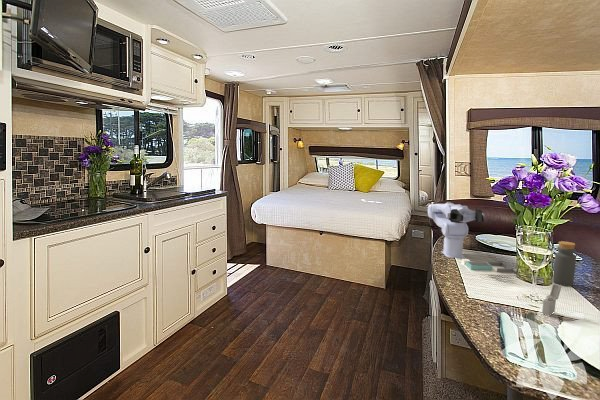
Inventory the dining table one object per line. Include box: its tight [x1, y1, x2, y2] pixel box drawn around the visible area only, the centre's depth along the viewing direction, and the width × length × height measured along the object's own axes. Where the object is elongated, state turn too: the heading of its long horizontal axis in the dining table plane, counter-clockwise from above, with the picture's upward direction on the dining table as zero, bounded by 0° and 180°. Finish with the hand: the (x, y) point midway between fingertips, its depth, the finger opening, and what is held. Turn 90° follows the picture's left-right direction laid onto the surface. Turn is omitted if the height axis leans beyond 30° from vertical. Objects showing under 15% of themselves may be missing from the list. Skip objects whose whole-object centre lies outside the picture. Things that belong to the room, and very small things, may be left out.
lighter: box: [541, 283, 562, 316], centre depth 97 cm, size 7×2×8 cm, turn 122°
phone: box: [466, 261, 492, 271], centre depth 133 cm, size 8×5×2 cm, turn 83°
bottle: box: [552, 240, 577, 287], centre depth 118 cm, size 6×6×15 cm
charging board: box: [459, 258, 518, 276], centre depth 133 cm, size 16×14×2 cm
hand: (472, 218), depth 130 cm, fingers open, 7 cm apart
